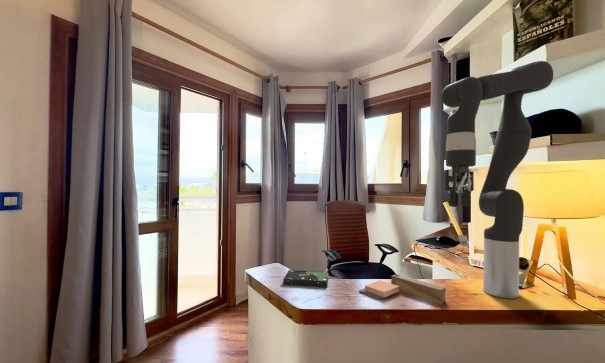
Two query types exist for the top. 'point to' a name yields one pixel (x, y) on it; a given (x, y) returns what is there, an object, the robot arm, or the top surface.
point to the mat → (370, 294)
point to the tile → (382, 288)
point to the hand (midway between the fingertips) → (459, 206)
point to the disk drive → (306, 278)
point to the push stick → (419, 288)
